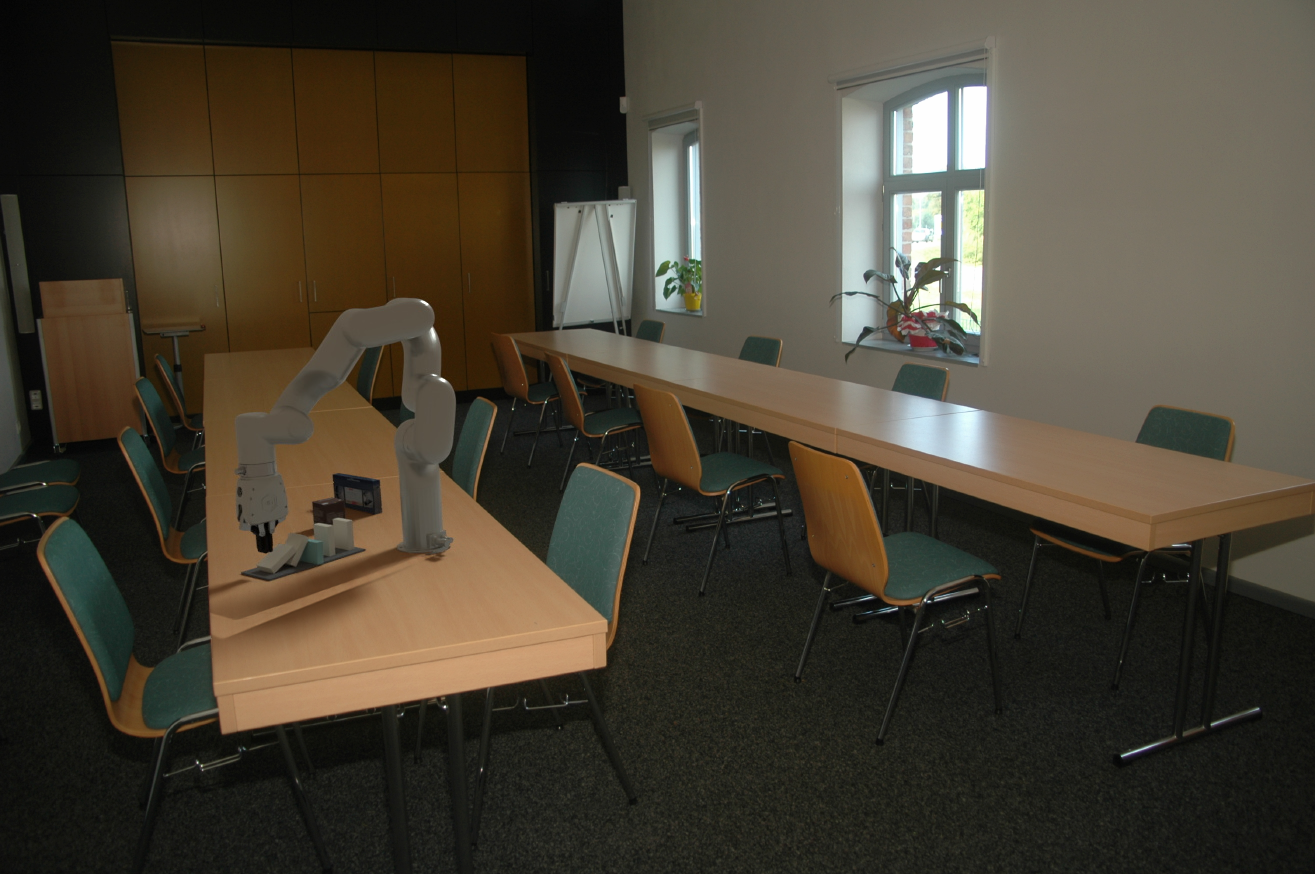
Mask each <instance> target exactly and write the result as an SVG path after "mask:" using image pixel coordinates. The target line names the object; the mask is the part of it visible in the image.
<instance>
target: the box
mask: <svg viewBox="0 0 1315 874" xmlns="http://www.w3.org/2000/svg"><path fill="white" fill-rule="evenodd" d="M311 504H312V505H311V506H312V518H313V519H312V520H313V524H317V523H322V524H328V525H333V519H335V518H343V519H347V517H346V515H347V514H346V507H345V503H344V500H341V499H337V498H334V497H333V496H332V497H328V498H323V499H318V500H315V501H314V500H313V501H311Z"/></svg>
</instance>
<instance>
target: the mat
mask: <svg viewBox="0 0 1315 874" xmlns="http://www.w3.org/2000/svg"><path fill="white" fill-rule="evenodd" d="M365 551H366V548H364V547H363V548H362V547H357V546H354V549H352V550H344V549H339V548H335V555H333V556H326V555H323V559H324V563H322V564H318V565H317V564H313V563H308V562H304V561H299V562H298V564H297V566H296V567H294V566H290V565H285V564H283V565H282V566H281V567H280V568H279V569H278V570H277V571H276V572H275V573H274V574H273V573H269V572H265V571H261V570H259V568H258V567H257V566H256V567H254V568H251V569H250V568H249V569H246V570H244V571H240V574H241V575H244V576H248V577H252V578H256V579H261V580H264V581H269V582H271V581H274V580H277V579H280V578H284V577H286V576H290V575H293V574H296V573H299V572H303V571H305V570H308V569H312V568H315V567H318V566H320V565H324V564H325V565H326V564H328V563H331V562H334V561H337V560H341V559H344V558H346V557H350V556H353V555H356V554H360V553H362V552H365Z"/></svg>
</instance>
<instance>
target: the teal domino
mask: <svg viewBox="0 0 1315 874" xmlns="http://www.w3.org/2000/svg"><path fill="white" fill-rule="evenodd" d="M299 561H304V562H308V563H313V564H317V565H318V564H322V563H324V559H323V541H318V540H315V539H313V538H309V540H308V542H307V544H306V546H305V549H304V551H303V553H302V555H301V557H300V559H299ZM322 565H323V564H322Z"/></svg>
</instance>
